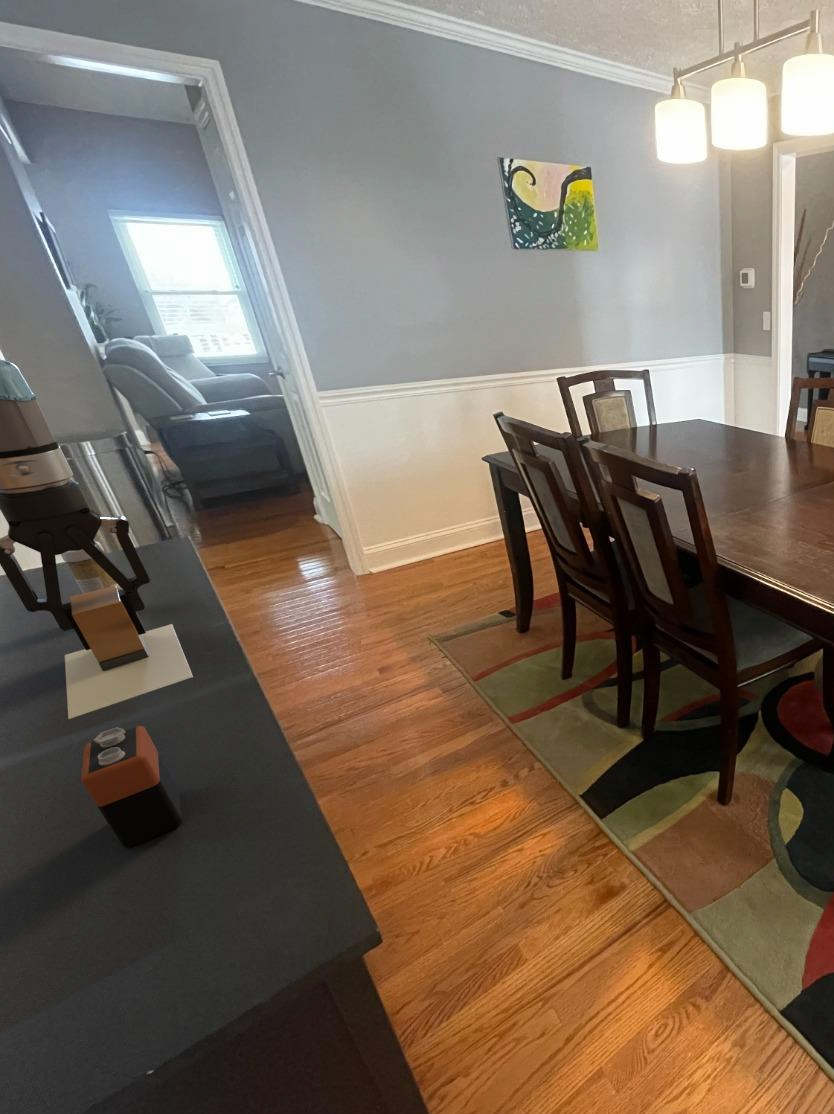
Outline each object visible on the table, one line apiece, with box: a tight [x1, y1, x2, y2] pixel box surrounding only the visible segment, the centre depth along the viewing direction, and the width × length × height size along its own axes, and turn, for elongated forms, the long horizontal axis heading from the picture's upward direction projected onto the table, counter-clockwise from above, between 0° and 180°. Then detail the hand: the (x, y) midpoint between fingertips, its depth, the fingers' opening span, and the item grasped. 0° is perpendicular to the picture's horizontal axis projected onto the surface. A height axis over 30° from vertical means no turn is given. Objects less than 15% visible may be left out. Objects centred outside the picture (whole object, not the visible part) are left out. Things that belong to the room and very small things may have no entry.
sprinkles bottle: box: [60, 540, 122, 594], centre depth 97 cm, size 5×5×14 cm
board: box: [64, 623, 194, 720], centre depth 85 cm, size 22×12×1 cm, turn 47°
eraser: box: [69, 585, 149, 671], centre depth 86 cm, size 9×5×9 cm, turn 47°
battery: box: [80, 725, 182, 849], centre depth 59 cm, size 4×7×10 cm, turn 44°
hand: (115, 638), depth 87 cm, fingers closed on eraser, 5 cm apart
